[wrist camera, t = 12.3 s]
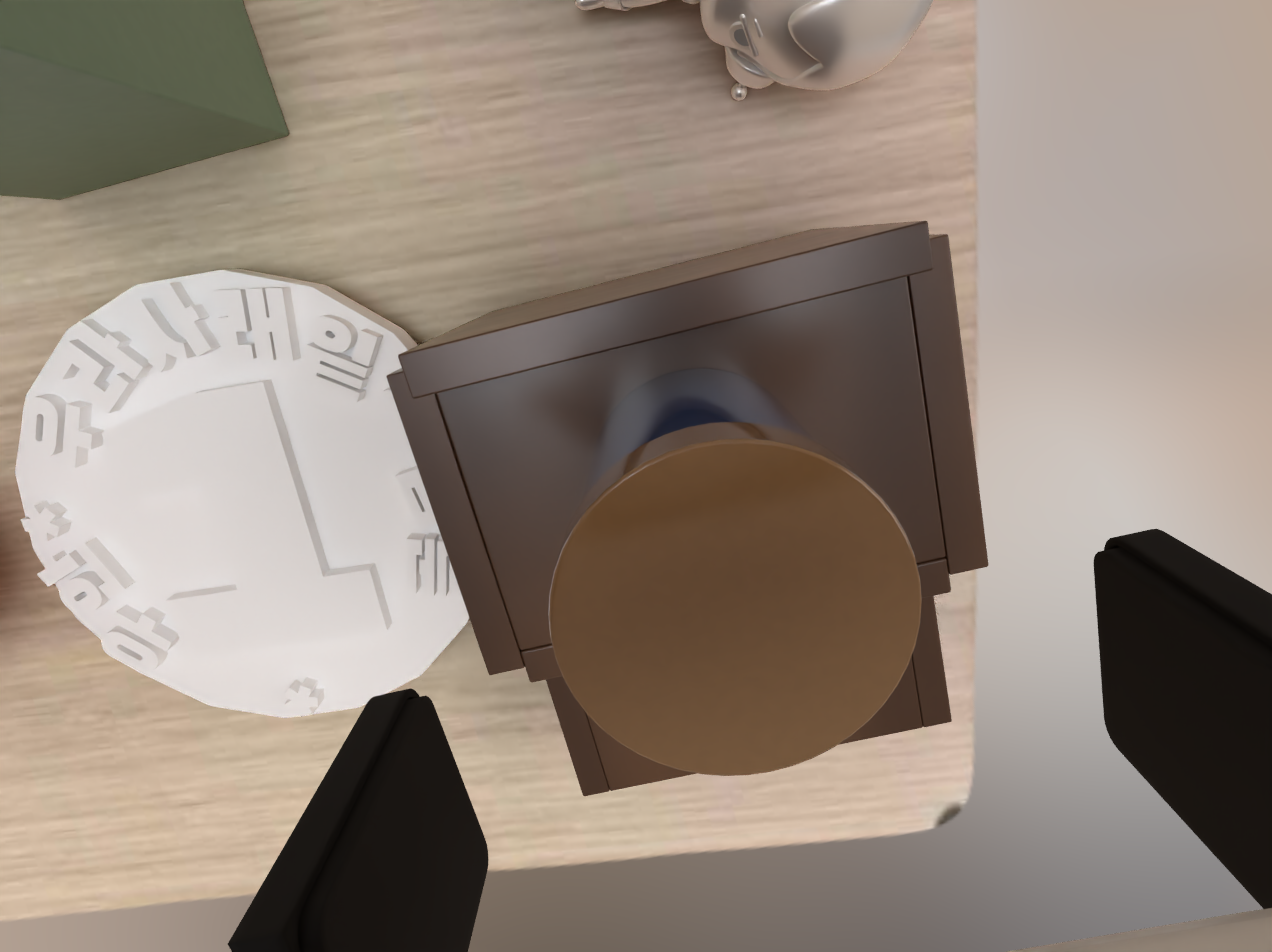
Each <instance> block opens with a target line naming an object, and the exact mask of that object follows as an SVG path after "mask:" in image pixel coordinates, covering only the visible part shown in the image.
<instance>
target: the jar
mask: <svg viewBox="0 0 1272 952" xmlns="http://www.w3.org/2000/svg"><path fill="white" fill-rule="evenodd" d="M921 603H922V598H921V585H920V576H919V572H918V567H917V563H916V558H915V555H914V552H913V550H912V547H911V545H910V542H909V540H908V537H907V535H906V533H905V531H904V530H903V528H902V526H901V524H900V523H899V521H898V519H897V517H896V516H895V514H894V513H893V512H892V511H891V509H890V508H889V507H888V505H887V504H886V503H885V502H884V500H883V499H882V498H881V497H880V496H879V495H878V493H877V492H876V491H875V490H874V489H873V488H872V487H871V486H870V485H869V484H868V483H867V482H866V481H865V480H864V479H863V478H862V477H861V476H860V475H859V474H858V473H857V472H856V471H855V470H854V469H853V468H852V467H851V466H850V465H849V464H848V463H847V462H846V461H845V460H843V459H842V458H840V457H839V456H838V455H836V454H835V453H833V452H832V451H831V450H829V449H828V448H826V447H825V446H823V445H821V444H819V443H817V442H816V441H815V440H814V439H813V437H812V436H811V435H810V434H809V433H808V432H807V431H806V430H805V428H804V427H803V426H802V425H801V424H800V423H799V422H798V421H797V419H796V418H795V417H794V416H793V415H792V414H791V413H790V411H789V410H788V409H787V408H786V407H785V406H784V405H783V404H782V402H781V401H779V400H778V399H777V398H776V397H775V396H774V395H773V394H772V393H771V392H770V391H768V390H767V389H765V388H764V387H763V386H761V385H760V384H758V383H756V382H754V381H752V380H750V379H749V378H747V377H744V376H741V375H738V374H736V373H733V372H729V371H724V370H719V369H709V368H693V369H684V370H679V371H673V372H670V373H667V374H664V375H661V376H658V377H656V378H654V379H652V380H650V381H648V382H646V383H644V384H643V385H641V386H639V387H638V388H636V389H635V390H633V391H632V392H631V393H630V394H629V395H627V396H626V397H625V398H624V399H623V400H622V401H621V402H620V403H619V404H618V405H617V406H616V407H615V408H614V409H613V411H612V412H611V414H610V415H609V417H608V418H607V419H606V421H605V423H604V424H603V426H602V428H601V430H600V432H599V434H598V437H597V440H596V443H595V445H594V449H593V453H592V458H591V462H590V466H589V471H588V475H587V480H586V484H585V488H584V493H583V497H582V501H581V502H580V504H579V505H578V507H577V509H576V511H575V513H574V515H573V517H572V518H571V520H570V522H569V524H568V527H567V530H566V532H565V535H564V538H563V541H562V544H561V547H560V551H559V555H558V559H557V562H556V566H555V570H554V575H553V579H552V584H551V589H550V597H549V626H550V637H551V641H552V646H553V650H554V654H555V658H556V661H557V663H558V666H559V668H560V671H561V673H562V676H563V678H564V680H565V682H566V683H567V685H568V687H569V689H570V691H571V692H572V694H573V696H574V697H575V699H576V700H577V701H578V703H579V704H580V705H581V707H582V708H583V709H584V711H585V712H586V713H587V715H588V716H589V717H590V718H591V719H592V720H593V721H594V722H595V723H596V724H597V725H598V726H599V727H600V728H601V729H602V730H604V731H605V732H606V733H607V734H609V735H610V736H611V737H613V738H614V739H615V740H616V741H618V742H619V743H620V744H622V745H624V746H625V747H627V748H629V749H630V750H632V751H634V752H636V753H637V754H639V755H641V756H643V757H646V758H648V759H650V760H652V761H655V762H657V763H659V764H663V765H666V766H669V767H672V768H675V769H679V770H683V771H688V772H694V773H699V774H707V775H721V776H734V775H751V774H758V773H765V772H771V771H775V770H779V769H782V768H786V767H790V766H793V765H796V764H799V763H801V762H804V761H806V760H809V759H812V758H814V757H816V756H818V755H820V754H822V753H824V752H826V751H828V750H830V749H831V748H833V747H835V746H836V745H838V744H839V743H841V742H842V741H844V740H845V739H847V738H848V737H850V736H851V735H853V734H854V733H855V732H856V731H857V730H859V729H860V728H861V727H862V726H863V725H864V724H866V723H867V722H868V721H869V720H870V719H871V718H872V717H873V716H874V715H875V714H876V712H877V711H878V710H879V709H880V708H881V707H882V706H883V705H884V704H885V702H886V701H887V699H888V698H889V697H890V695H891V694H892V692H893V691H894V690H895V688H896V687H897V685H898V683H899V682H900V680H901V678H902V676H903V674H904V672H905V670H906V668H907V666H908V664H909V661H910V658H911V656H912V653H913V650H914V647H915V644H916V640H917V635H918V631H919V626H920V617H921Z"/></svg>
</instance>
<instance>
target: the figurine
mask: <svg viewBox="0 0 1272 952" xmlns="http://www.w3.org/2000/svg"><path fill="white" fill-rule="evenodd" d="M663 1H666V0H575V4H576V6H577V7H578V8H579V9H581V10H592V9H596V8H601V7H604V6H605V8H610V9H615V10H621V11H628V10H630V9H631V8H632V7H641V6H647V5H652V4H656V3H660V2H663ZM682 1H684V2H686V3H688V4H697V3H699V2H700V13H701V19H702V23H703V27H704V29H705V32H706V33H707V35H708V37H709V38H710V39H711V40H712V41H714V42H715V43H718V44H720V45H723V46H724V47H725V54H726V65H727V68H728V71H729V73H730V74H731V75H732V77H733V78H734V79H735V80H737V81H738V82H739V83H736V84H735V85H734V86H733V87H732V89H731V95H732V97H733V98H734V99H735V100H738V101H739V100H742V99H744V98H745V97H746V94H747V88H746V86H747V87H750V88H755V89H760V88H765V87H767V86H769V85H770V84H772V83H773V82H775V81H776V82H778V83H780V84H782V85H785V86H790V87H795V88H801V89H808V90H818V91H825V90H833V89H838V88H842V87H845V86H848V85H851V84H854V83H856V82H859V81H861V80H863V79H866V78H868V77H870V76H872V75H873V74H875V73H877V72H879V71H880V70H881V69H883V68H884V67H886V66H887V65H888V64H889V63H890V62H891V61H892V60H893V59H894V58H895V57H896V56H897V55H898V54H899V53H900V52H901V51H902V49H903V48H904V47H905V46H906V44H907V43H908V42H909V40H910V39H911V37H912V36H913V34H914V33H915V31H916V30H917V28H918V27H919V25H920V24H921V22H922V21H923V19H924V17H925V16H926V14H927V12H928V11H929V9H930V7H931V4H932V2H933V0H682Z"/></svg>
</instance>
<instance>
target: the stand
mask: <svg viewBox="0 0 1272 952" xmlns="http://www.w3.org/2000/svg"><path fill="white" fill-rule="evenodd" d="M288 135H289V133H288V130H287V127H286V124H285V121H284V118H283V115H282V113H281V110H280V107H279V104H278V101H277V98H276V95H275V93H274V90H273V87H272V84H271V81H270V78H269V75H268V73H267V70H266V67H265V64H264V61H263V58H262V55H261V53H260V50H259V47H258V44H257V41H256V38H255V35H254V33H253V30H252V27H251V24H250V21H249V18H248V15H247V13H246V10H245V7H244V4H243V1H242V0H0V195H2V196H16V197H29V198H43V199H56V200H60V199H63V198H67V197H70V196H74V195H78V194H81V193H85V192H88V191H92V190H95V189H99V188H103V187H106V186H110V185H113V184H117V183H120V182H124V181H128V180H131V179H135V178H138V177H142V176H145V175H149V174H153V173H156V172H160V171H163V170H167V169H170V168H174V167H178V166H181V165H185V164H188V163H192V162H195V161H199V160H203V159H206V158H210V157H213V156H217V155H220V154H224V153H228V152H231V151H235V150H238V149H242V148H245V147H249V146H253V145H256V144H260V143H263V142H267V141H270V140H274V139H278V138H281V137H285V136H288Z"/></svg>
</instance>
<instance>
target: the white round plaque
mask: <svg viewBox="0 0 1272 952" xmlns="http://www.w3.org/2000/svg"><path fill="white" fill-rule="evenodd" d="M416 346H418V345H417V343H416V342H415V341H414V340H413V339H412V338H411V337H410V336H409V335H408V333H407V332H406V331H405V330H404V329H402V328H401V327H399V326H397V325H395V324H394V323H392V322H390V321H388V320H387V319H385V318H383V317H381V316H380V315H378V314H376V313H374V312H373V311H371V310H369V309H367V308H366V307H364V306H362V305H360V304H359V303H357V302H355V301H353V300H352V299H350V298H348V297H346V296H345V295H343V294H341V293H339V292H338V291H336V290H334V289H332V288H331V287H329V286H327V285H324V284H318V283H313V282H308V281H303V280H297V279H292V278H287V277H281V276H276V275H271V274H266V273H260V272H255V271H250V270H245V269H225V270H217V271H211V272H206V273H200V274H194V275H188V276H183V277H177V278H171V279H166V280H160V281H154V282H149V283H143V284H137V285H134V286H133V287H131V288H130V289H128V290H127V291H125V292H124V293H122V294H121V295H119V296H118V297H116V298H115V299H113V300H111V301H110V302H108V303H107V304H105V305H104V306H102V307H101V308H99V309H98V310H96V311H95V312H93V313H92V314H90V315H88V316H87V317H85V318H84V319H82V320H80V321H79V322H78V323H76V324H75V325H73V326H72V327H70V328H69V329H67V331H66V332H65V334H64V335H63V337H62V339H61V340H60V342H59V343H58V345H57V346H56V348H55V350H54V351H53V353H52V354H51V356H50V358H49V359H48V361H47V362H46V364H45V366H44V367H43V369H42V370H41V372H40V374H39V375H38V377H37V378H36V380H35V382H34V383H33V385H32V386H31V388H30V389H29V391H28V393H27V394H26V398H25V404H24V407H23V417H22V426H21V433H20V440H19V447H18V454H17V461H16V468H15V475H16V479H17V483H18V487H19V491H20V496H21V500H22V504H23V508H24V513H25V518H23V519H21V522H22V525H23V527H24V530H25V532H27V531H29V534H30V538H31V542H32V546H33V550H34V551H35V553H36V555H37V556H38V558H39V559H40V561H41V563H42V564H43V566H44V567H45V569H44V570H43V571H41V572H40V573H38V574H37V575H38V576H39V577H40V578H41V580H42V581H43V582H44V583H45V584H46V585H47V586H48V587H49V586H51V585H52V584H54V583H55V585H56V587H57V588H58V590H59V594H60V598H61V600H62V602H63V603H64V604H65V606H66V607H67V608H68V609H70V610H71V611H72V612H73V614H74V615H75V617H76V618H77V619H78V620H79V621H80V622H81V623H82V624H83V625H85V626H86V627H87V628H88V629H89V630H90V631H91V632H93V633H94V634H95V635H96V636H97V637H98V638H99V639H101V640H102V642H101V644H102V648H103V650H104V651H105V653H106V654H108V655H109V656H111V657H112V658H114V659H116V660H118V661H120V662H121V663H123V664H125V665H127V666H129V667H131V668H132V669H134V670H136V671H137V672H139V673H141V674H143V675H145V676H147V677H150V678H152V679H154V680H156V681H158V682H160V683H162V684H164V685H166V686H169V687H171V688H173V689H175V690H177V691H179V692H181V693H183V694H186V695H188V696H190V697H192V698H194V699H196V700H198V701H200V702H202V703H205V704H207V705H209V706H213V707H220V708H226V709H232V710H238V711H244V712H250V713H257V714H263V715H269V716H275V717H281V718H290V717H297V716H301V717H302V716H307V715H311V714H318V713H325V712H332V711H339V710H346V709H353V708H359V707H361V706H363V705H365V704H367V703H368V701H369V700H370V699H371V698H372V697H375V696H379V695H383V694H386V693H388V692H390V691H392V690H394V689H396V688H398V687H400V686H401V685H403V684H405V683H407V682H409V681H411V680H413V679H415V678H417V677H419V676H421V675H422V674H423V673H424V671H425V670H426V669H427V668H428V667H429V666H430V665H431V664H432V662H433V661H434V660H435V659H436V658H437V657H438V656H439V654H440V653H441V652H442V651H443V650H444V649H445V648H446V647H447V645H448V644H449V643H450V642H451V641H452V640H453V639H454V637H455V636H456V635H457V634H458V633H459V632H460V631H461V630H462V628H463V627H464V626H465V625H466V624H467V622H468V620H469V615H468V612H467V609H466V606H465V603H464V600H463V597H462V595H461V592H460V589H459V586H458V583H457V580H456V577H455V574H454V571H453V569H452V566H451V563H450V560H449V557H448V554H447V551H446V548H445V545H444V542H443V540H442V537H441V534H440V531H439V528H438V525H437V522H436V519H435V516H434V514H433V511H432V508H431V505H430V502H429V499H428V496H427V493H426V490H425V487H424V485H423V482H422V479H421V476H420V473H419V470H418V467H417V464H416V461H415V459H414V456H413V453H412V450H411V447H410V444H409V441H408V438H407V435H406V432H405V430H404V427H403V424H402V421H401V418H400V415H399V412H398V409H397V406H396V404H395V401H394V398H393V395H392V392H391V389H390V386H389V383H388V380H387V377H386V376H387V375H388V374H390V373H392V372H394V371H396V370H398V369H400V368H402V367H401V364H400V361H399V358H398V355H399V354H401V353H403V352H405V351H407V350H410V349H412V348H414V347H416Z"/></svg>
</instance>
